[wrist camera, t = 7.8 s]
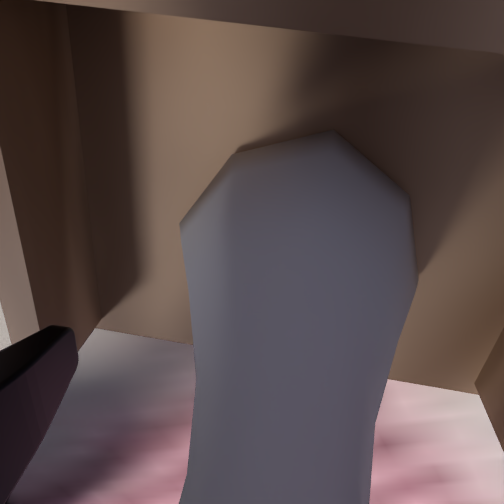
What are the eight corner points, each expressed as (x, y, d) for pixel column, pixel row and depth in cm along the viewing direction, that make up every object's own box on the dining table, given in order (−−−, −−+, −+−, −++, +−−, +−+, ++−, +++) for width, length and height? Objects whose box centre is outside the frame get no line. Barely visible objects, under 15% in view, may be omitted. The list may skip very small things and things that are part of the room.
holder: (81, 314, 17) (-3, 417, 12) (28, -49, 11) (-171, -97, 6) (496, 386, 15) (566, 528, 11) (703, 22, 9) (1031, 23, 5)
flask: (265, 360, 16) (201, 780, 7) (143, 210, 13) (-189, 570, 5) (456, 284, 13) (738, 817, 4) (347, 77, 10) (490, 340, 2)
